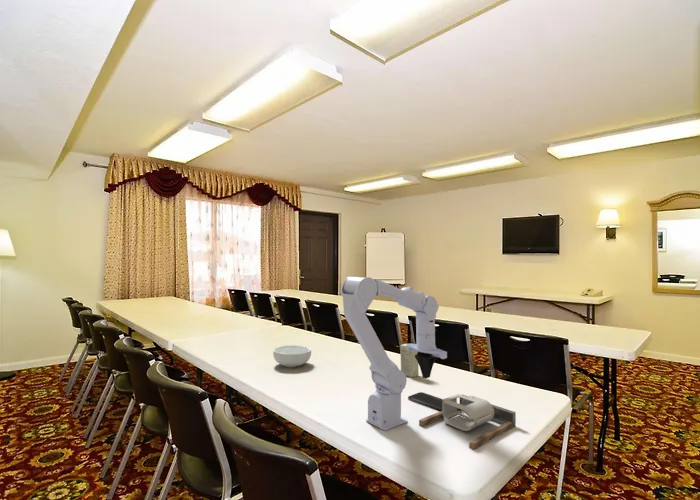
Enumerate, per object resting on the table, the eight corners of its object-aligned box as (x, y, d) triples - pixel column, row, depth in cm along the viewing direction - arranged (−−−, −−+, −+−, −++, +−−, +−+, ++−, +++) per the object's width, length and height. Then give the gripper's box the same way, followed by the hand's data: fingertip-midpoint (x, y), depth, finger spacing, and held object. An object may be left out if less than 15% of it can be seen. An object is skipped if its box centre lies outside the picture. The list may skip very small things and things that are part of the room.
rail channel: (473, 450, 90) (473, 433, 90) (419, 425, 104) (419, 410, 104) (515, 426, 103) (515, 412, 103) (462, 407, 117) (462, 394, 117)
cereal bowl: (285, 373, 152) (285, 355, 152) (266, 364, 164) (266, 348, 164) (318, 365, 163) (318, 349, 163) (298, 358, 175) (298, 343, 176)
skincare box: (418, 375, 150) (418, 345, 150) (413, 377, 146) (413, 347, 147) (405, 372, 154) (405, 343, 154) (399, 374, 151) (399, 344, 151)
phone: (444, 410, 112) (406, 396, 123) (444, 414, 112) (406, 400, 123) (458, 404, 117) (421, 391, 129) (458, 408, 117) (421, 394, 129)
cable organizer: (462, 390, 114) (437, 399, 106) (499, 402, 104) (474, 412, 97) (462, 412, 113) (437, 422, 106) (499, 426, 103) (474, 438, 96)
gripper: (452, 335, 111) (453, 380, 111) (416, 328, 122) (417, 369, 122) (438, 338, 107) (439, 385, 106) (401, 331, 118) (402, 373, 118)
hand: (426, 377), depth 114 cm, fingers closed
